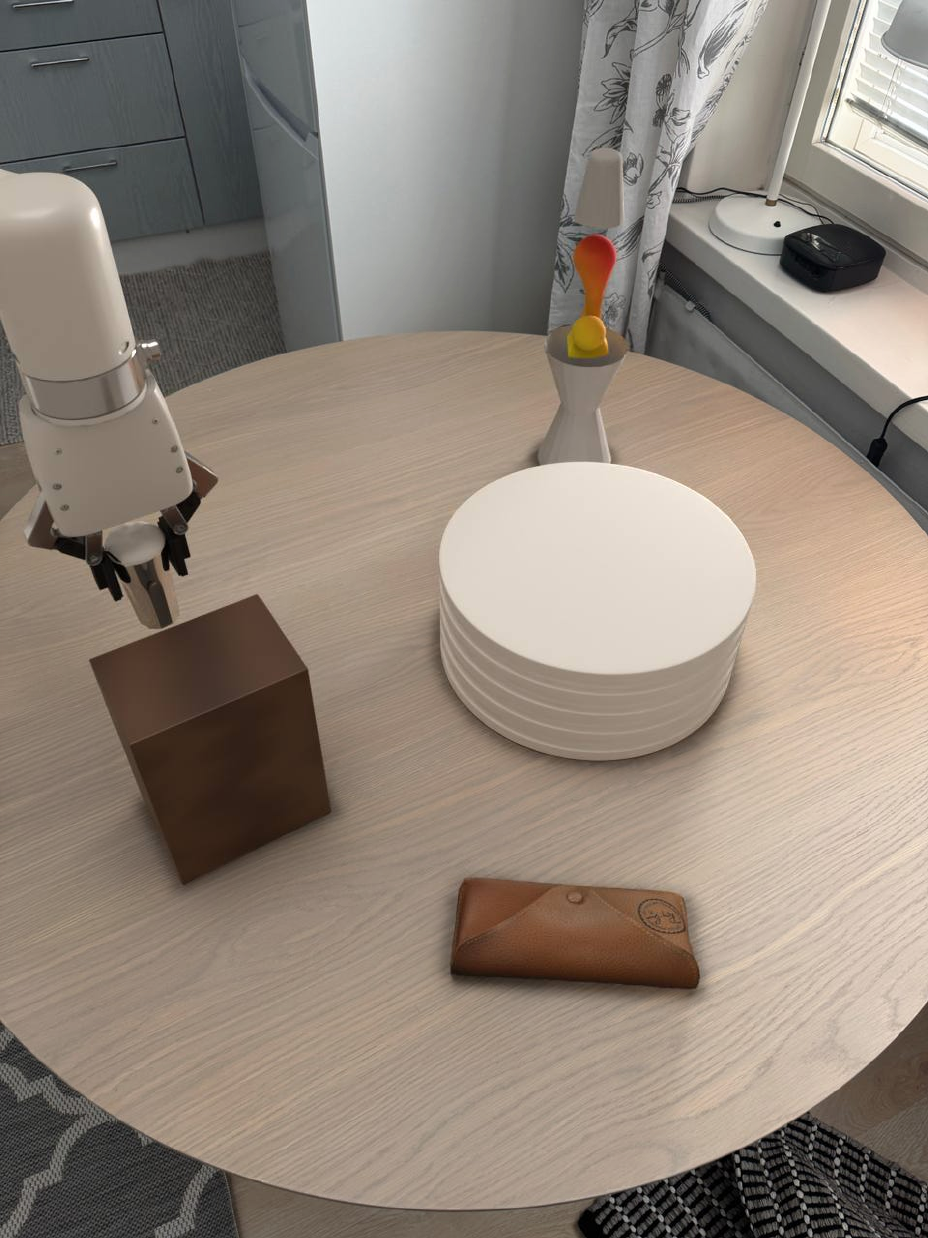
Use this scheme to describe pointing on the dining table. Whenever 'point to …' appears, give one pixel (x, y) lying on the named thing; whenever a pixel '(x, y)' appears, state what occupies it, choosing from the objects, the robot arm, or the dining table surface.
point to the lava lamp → (588, 325)
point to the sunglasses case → (572, 934)
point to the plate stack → (592, 608)
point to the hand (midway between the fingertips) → (145, 576)
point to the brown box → (218, 733)
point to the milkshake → (144, 572)
